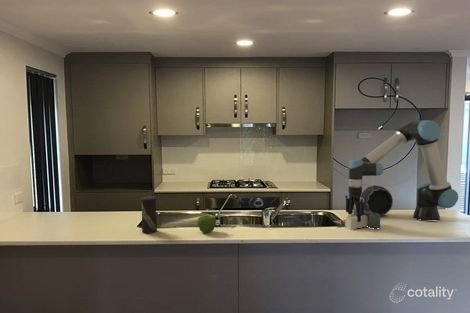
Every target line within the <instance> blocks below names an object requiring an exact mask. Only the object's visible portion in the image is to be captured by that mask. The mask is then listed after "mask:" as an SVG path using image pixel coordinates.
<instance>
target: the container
mask: <svg viewBox="0 0 470 313" xmlns="http://www.w3.org/2000/svg"><path fill="white" fill-rule="evenodd" d="M157 200H158V199H157V196H150V195H149V196H143V197H141V198H140V202H141V232H142V233H143V234H153V233H156V232H157V231H158V222H157Z"/></svg>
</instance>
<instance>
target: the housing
mask: <svg viewBox="0 0 470 313" xmlns="http://www.w3.org/2000/svg"><path fill="white" fill-rule="evenodd" d="M364 213H365V214H369V227H370V228H374V229H377V228H380V229H381V216H380V214H378V213H374V212H370V211H366V210H364ZM352 214H354V216H356V215H357V212H356V208H353V213H352ZM370 228H369V229H370Z"/></svg>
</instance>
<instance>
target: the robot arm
mask: <svg viewBox="0 0 470 313" xmlns="http://www.w3.org/2000/svg"><path fill="white" fill-rule="evenodd" d="M440 135H441V128H440V125H439V124H438V123H437V122H436V121H434V120H427V119H424V120H411V121H409V122H407V123H405V124H404V125H402V126H401V127H399V128H398V129H397V130H395V131H394V134H393V135H392V136H390V137H388V139H386V140H385V141H383V142H382V143H381V144H380V145H378V146H377V147H376V148H375V149H373V150H372V151H370V152H369V153H367V154H366V155H364V157H362V158H360V159H350V160H349V162H348V163H349V164H348V195H345V197H344V198H345V213H347V214H348V217H350V216H354V214H353V209H356V212H357V215H356V227H360V222H361V216H363V215H364V203H365V199H363V198H362V196H361V195H362V192H363V177H364V176H365V177H368V176H370V177H372V176H375V177H378V176H381V175H383V173H384V167H383V166H384V165H383V164H382V163H381V162H380V161H381V160H383V159H384V158H386V157H387V156H388V155H389V154H391V153H392V152H393V151H395V150H396V149H397V148H399V147H401V146H402V145H406V144H407V143H409V142H411V141H415V143H416V146H418V147H419V148H420V150H421V154H422V157H423V161H424V164H425V165H424V166H425V167H426V171H427V176H428V179H429V182H422V183H418V184H417V187H416V207H415V210H414V212H413V219H415V218H417V219H416V220H418V219H421V220H420V221H423V220H439V221H441V215H440V212H439V209H438V207H440V208H444V209H451V208H453V207H454V206H455V205H456V204H457V203H458V200H459V193H458V192H457V190H455V189H453V188H452V185H451V183H450V181H447V177H446V172H445V169H444V166H443V162H442V158H441V154H440V152H439V148H438V146H437V145H438V144H437V143H438V142H439V137H440ZM354 206H355V208H354Z"/></svg>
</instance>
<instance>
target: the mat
mask: <svg viewBox="0 0 470 313" xmlns="http://www.w3.org/2000/svg"><path fill="white" fill-rule="evenodd" d="M341 220H342V221H343V222H345V220H346V218H345V219H340V220H334V221H333V222H334V223H336V224H339V225H342V224H341Z"/></svg>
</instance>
